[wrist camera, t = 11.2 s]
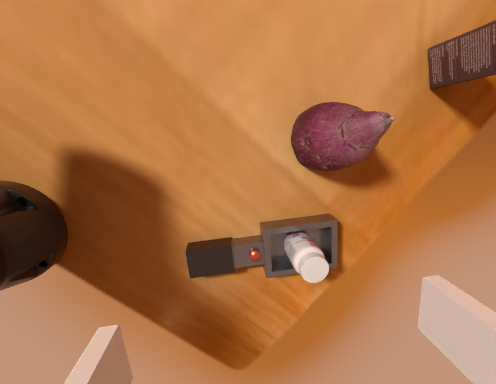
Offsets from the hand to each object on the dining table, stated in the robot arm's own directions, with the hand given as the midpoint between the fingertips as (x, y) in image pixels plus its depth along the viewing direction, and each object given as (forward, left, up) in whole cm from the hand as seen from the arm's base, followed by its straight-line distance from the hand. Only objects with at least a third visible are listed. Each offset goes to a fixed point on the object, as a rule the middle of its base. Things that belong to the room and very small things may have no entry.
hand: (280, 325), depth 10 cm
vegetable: (+14, +6, -29) cm, 33 cm away
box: (+33, +15, -29) cm, 46 cm away
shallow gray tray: (+3, -11, -29) cm, 31 cm away
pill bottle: (+9, -11, -28) cm, 32 cm away
